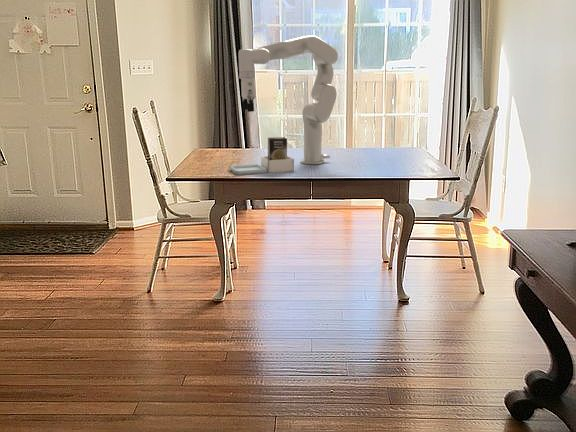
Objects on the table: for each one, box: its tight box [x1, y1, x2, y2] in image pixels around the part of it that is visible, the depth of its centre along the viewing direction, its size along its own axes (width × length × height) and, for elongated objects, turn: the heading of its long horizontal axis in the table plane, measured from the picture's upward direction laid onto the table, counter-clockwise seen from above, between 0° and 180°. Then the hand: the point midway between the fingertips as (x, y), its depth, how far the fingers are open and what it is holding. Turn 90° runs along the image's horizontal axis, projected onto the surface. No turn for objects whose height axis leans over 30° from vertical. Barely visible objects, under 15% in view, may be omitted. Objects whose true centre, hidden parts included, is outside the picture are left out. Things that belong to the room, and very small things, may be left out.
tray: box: [229, 163, 267, 176], centre depth 286 cm, size 15×14×2 cm
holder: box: [260, 155, 295, 173], centre depth 291 cm, size 14×12×6 cm
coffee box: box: [267, 136, 288, 160], centre depth 289 cm, size 9×6×16 cm
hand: (248, 110), depth 286 cm, fingers open, 9 cm apart
